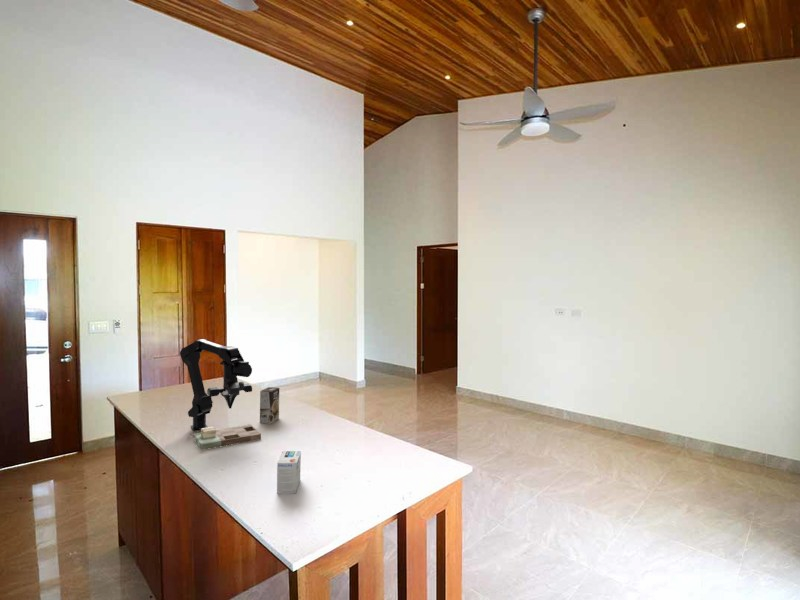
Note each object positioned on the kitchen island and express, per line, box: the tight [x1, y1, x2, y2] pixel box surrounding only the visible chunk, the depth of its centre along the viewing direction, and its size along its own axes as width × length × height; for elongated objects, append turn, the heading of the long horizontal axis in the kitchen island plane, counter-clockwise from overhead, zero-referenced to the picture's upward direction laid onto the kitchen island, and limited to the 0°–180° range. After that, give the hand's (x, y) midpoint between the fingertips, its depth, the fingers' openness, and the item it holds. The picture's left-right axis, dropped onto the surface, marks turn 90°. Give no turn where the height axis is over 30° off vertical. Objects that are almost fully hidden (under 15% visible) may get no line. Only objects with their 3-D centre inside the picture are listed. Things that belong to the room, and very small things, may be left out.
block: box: [200, 426, 217, 438], centre depth 197 cm, size 5×5×3 cm
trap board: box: [193, 424, 262, 451], centre depth 200 cm, size 15×25×2 cm, turn 125°
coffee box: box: [259, 386, 280, 424], centre depth 227 cm, size 9×6×16 cm
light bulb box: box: [276, 450, 302, 495], centre depth 156 cm, size 11×7×11 cm, turn 5°
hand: (229, 408), depth 206 cm, fingers closed
